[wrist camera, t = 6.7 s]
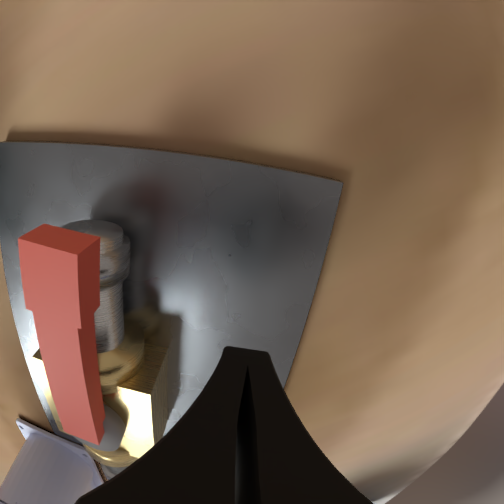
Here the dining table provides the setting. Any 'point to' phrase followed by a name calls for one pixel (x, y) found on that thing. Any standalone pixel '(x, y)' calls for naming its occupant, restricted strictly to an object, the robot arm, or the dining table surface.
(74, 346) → the lever
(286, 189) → the valve body
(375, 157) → the dining table surface
